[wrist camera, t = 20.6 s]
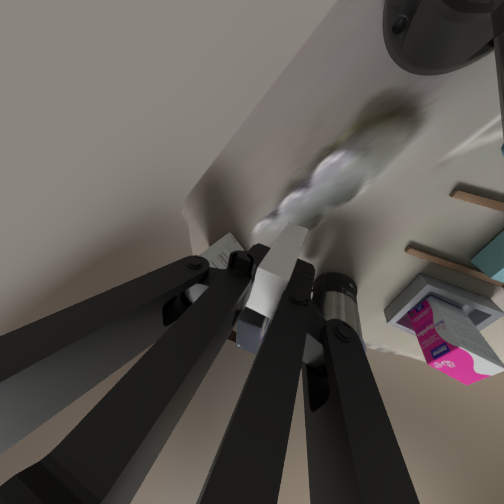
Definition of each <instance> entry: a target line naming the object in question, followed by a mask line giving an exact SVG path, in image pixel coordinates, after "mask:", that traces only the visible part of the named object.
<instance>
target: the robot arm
mask: <svg viewBox="0 0 504 504" xmlns="http://www.w3.org/2000/svg"><path fill="white" fill-rule="evenodd" d="M383 36H384V41H385V45H386V48H387V50H388V53H389V55H390V56H391V58H392V59H393V61H394V62H395V63H396V64H397V65H398V66H400V67H401V68H402V69H404V70H406V71H408V72H410V73H413V74H417V75H439V74H444V73H448V72H452V71H455V70H458V69H461V68H463V67H465V66H468V65H470V64H472V63H474V62H476V61H478V60H479V59H481V58H483V57H485V56H486V55H488V54H489V53H491V52H492V51H494V50H495V59H496V69H497V79H498V88H499V98H500V108H501V118H502V128H503V137H504V0H386V1H385V5H384V12H383ZM501 151H502V155H503V157H504V144H503V145H502V147H501ZM308 230H309V229H307V228H304V227H302V226H299V225H296V224H294V223H291V222H289V223H288V224H287V226H286V227H285V229H284V230H283V232H282V233H281V234H280V236H279V237H278V239H277V240H276V242H275V243H274V244H273V246H272V247H271V248H269V247H267V246H265V245H262V244H260V243H259V244H256V245H253V246H252V247H251V248H250V250H249V251H248V252H246V251H241V250H237V251H233V252H231V253H230V256H229V261H228V267H227V268H226V269H218V268H214V267H210V264H209V261H208V260H207V259H206V258H204V257H202V256H197V255H195V256H188V257H185V258H183V259H180V260H178V261H176V262H173V263H171V264H168V265H166V266H164V267H161V268H159V269H157V270H155V271H152V272H150V273H147V274H145V275H143V276H141V277H138V278H136V279H133V280H131V281H129V282H126V283H124V284H122V285H119V286H117V287H115V288H112V289H110V290H108V291H105V292H104V293H101V294H98V295H96V296H94V297H91V298H89V299H87V300H84V301H82V302H80V303H77V304H75V305H73V306H70V307H68V308H66V309H63V310H61V311H58V312H56V313H54V314H51V315H49V316H47V317H44V318H42V319H40V320H37V321H35V322H33V323H30V324H28V325H26V326H23V327H21V328H19V329H16V330H14V331H12V332H9V333H7V334H5V335H2V336H0V454H2V453H3V452H5V451H6V450H7V449H9V448H10V447H12V446H13V445H14V444H16V443H17V442H19V441H20V440H21V439H23V438H24V437H25V436H27V435H28V434H30V433H31V432H32V431H34V430H35V429H36V428H38V427H39V426H41V425H42V424H43V423H45V422H46V421H47V420H49V419H50V418H52V417H53V416H54V415H56V414H57V413H58V412H60V411H61V410H63V409H64V408H65V407H67V406H68V405H70V404H71V403H72V402H74V401H75V400H76V399H78V398H79V397H81V396H82V395H83V394H84V393H86V392H87V391H89V390H90V389H92V388H93V387H94V386H96V385H97V384H98V383H100V382H101V381H103V380H104V379H105V378H107V377H108V376H109V375H111V374H112V373H114V372H115V371H116V370H118V369H119V368H121V367H122V366H123V365H125V364H126V363H127V362H129V361H130V360H131V359H133V358H134V357H136V356H137V355H138V354H140V353H141V352H142V351H144V350H145V349H146V348H148V347H149V346H151V345H152V344H154V343H155V342H156V341H157V342H156V343H155V344H154V345H153V346H152V347H151V348H150V349H149V350H148V351H147V352H146V353H145V354H144V355H143V356H142V358H140V359H139V361H138V362H137V363H136V364H135V365H134V366H133V367H132V368H131V369H130V370H129V371H128V372H127V373H126V374H125V375H124V377H122V378H121V379H120V381H119V382H118V383H117V384H116V385H115V386H114V387H113V388H112V389H111V390H110V391H109V392H108V393H107V394H106V395H105V396H104V397H103V398H102V400H100V401H99V403H98V404H97V405H96V406H95V407H94V408H93V409H92V410H91V411H90V412H89V413H88V414H87V415H86V416H85V417H84V418H83V419H82V420H81V422H80V423H79V424H78V425H77V426H76V427H75V428H74V429H73V430H72V431H71V432H70V433H69V434H68V435H67V436H66V437H65V438H64V439H63V440H62V441H61V443H60V444H59V445H58V446H57V447H55V448H54V449H53V450H52V451H51V452H50V453H49V454H48V455H47V456H45V457H44V458H43V459H41V460H40V461H39V462H37V463H35V464H34V465H32V466H30V467H28V468H26V469H25V470H23V471H21V472H19V473H18V474H16V475H15V476H13V477H12V478H10V479H9V480H8V481H6V482H5V483H4V484H3V485H1V486H0V504H130V503H131V501H132V499H133V497H134V496H135V494H136V492H137V491H138V489H139V487H140V486H141V484H142V482H143V481H144V479H145V477H146V475H147V474H148V472H149V470H150V469H151V467H152V465H153V463H154V462H155V460H156V458H157V457H158V455H159V453H160V452H161V450H162V448H163V447H164V445H165V443H166V442H167V439H168V438H169V436H170V435H171V433H172V431H173V430H174V428H175V426H176V425H177V423H178V421H179V419H180V418H181V416H182V414H183V413H184V411H185V409H186V408H187V406H188V404H189V402H190V401H191V399H192V397H193V396H194V394H195V392H196V391H197V388H198V387H199V386H200V384H201V382H202V380H203V378H204V377H205V375H206V374H207V372H208V370H209V369H210V367H211V365H212V364H213V362H214V360H215V358H216V357H217V355H218V353H219V352H220V350H221V348H222V347H223V345H224V343H225V341H226V340H227V338H228V336H229V335H230V333H231V331H232V330H233V328H234V326H235V324H236V322H237V321H238V319H239V318H240V316H241V314H242V311H243V308H244V306H245V304H246V303H247V304H246V307H248V308H250V309H252V310H254V311H256V312H258V313H260V314H262V315H264V316H266V317H268V318H270V319H271V321H270V323H269V325H268V328H267V330H266V332H265V334H264V338H263V340H262V342H261V345H260V347H259V350H258V352H257V355H256V357H255V360H254V363H253V365H252V367H251V370H250V372H249V375H248V377H247V379H246V382H245V384H244V387H243V389H242V392H241V394H240V397H239V399H238V402H237V404H236V407H235V409H234V412H233V414H232V416H231V419H230V421H229V424H228V427H227V429H226V431H225V434H224V436H223V439H222V441H221V444H220V446H219V449H218V451H217V454H216V456H215V458H214V461H213V464H212V466H211V468H210V471H209V473H208V476H207V478H206V481H205V483H204V485H203V488H202V491H201V493H200V495H199V498H198V500H197V503H196V504H277V500H278V495H279V489H280V484H281V478H282V472H283V466H284V461H285V455H286V450H287V444H288V438H289V433H290V426H291V421H292V416H293V410H294V404H295V398H296V393H297V387H298V381H299V376H300V370H301V364H302V378H303V394H304V409H305V410H304V411H305V426H306V440H307V441H306V442H307V457H308V472H309V488H310V502H311V504H420V503H419V500H418V498H417V495H416V492H415V489H414V486H413V484H412V481H411V478H410V475H409V473H408V470H407V467H406V464H405V462H404V459H403V456H402V453H401V450H400V448H399V445H398V442H397V440H396V437H395V434H394V431H393V429H392V426H391V423H390V420H389V417H388V415H387V412H386V409H385V407H384V404H383V401H382V398H381V396H380V393H379V390H378V387H377V384H376V382H375V379H374V376H373V373H372V371H371V368H370V365H369V362H368V360H367V357H366V354H365V351H364V349H363V346H362V343H361V340H360V338H359V336H358V334H357V332H356V331H355V330H354V329H353V328H352V326H350V325H349V324H348V323H346V322H345V321H342V320H340V319H335V318H333V319H330V320H328V321H327V320H326V319H325V318H323V317H322V316H321V315H319V314H318V313H317V312H316V311H315V310H314V308H313V307H312V302H311V300H310V296H311V291H312V286H313V280H314V275H315V269H314V266H313V265H312V264H310V263H308V262H305V261H303V260H300V259H298V256H299V253H300V251H301V248H302V245H303V243H304V240H305V238H306V235H307V232H308Z"/></svg>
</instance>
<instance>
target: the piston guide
mask: <svg viewBox="0 0 504 504" xmlns="http://www.w3.org/2000/svg"><path fill="white" fill-rule="evenodd" d="M449 196H451V197H453V198H457V199H461V200H464V201H468V202H471V203H475V204H478V205H482V206H485V207H489V208H492V209H496V210H499V211H503V212H504V203H503V202H499V201H496V200H492V199H488V198H485V197H481V196H477V195H474V194H470V193H466V192H463V191H459V190H456V189H454V191H453V192H452V193H451V194H450V195H449ZM405 252H406V253H408V254H411V255H414V256H417V257H419V258H422V259H425V260H428V261H431V262H434V263H436V264H439V265H442V266H445V267H448V268H450V269H453V270H456V271H459V272H462V273H464V274H467V275H470V276H473V277H476V278H478V279H481V280H484V281H487V282H490V283H492V284H495V285H498V286H501V287H502V288H504V283H502V282H500V281H497V280H494V279H491V278H490V277H488V276H487V275H486V274H485V273H484V272H482V271H480V270H477V269H474V268H471V267H468V266H465V265H463V264H460V263H457V262H454V261H451V260H448V259H445V258H442V257H439V256H437V255H434V254H431V253H428V252H425V251H422V250H419V249H416V248H414V247H411V246H408V247H407V248H406V249H405Z"/></svg>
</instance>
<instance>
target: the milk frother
mask: <svg viewBox="0 0 504 504" xmlns="http://www.w3.org/2000/svg"><path fill="white" fill-rule="evenodd" d="M311 292H313V297H312V299H311V297H310V300H311V302H312V307H313V308H314V310H315V311H316V312H317V313H318V314H319V315H321V316H322V317H323V318H325V319H326V320H327V321H328V320H330V319H333V318H335V319H340V320H342V321H345V322H346V323H348V324H349V325H350V326H352V328H353V329H354V330H355V331H356V332H357V334H358V336H359V338H360V340H361V343H362V346H363V349H364V351H365V352H366V346H365V343H364V341H363V339H362V331H361V325H360V318H359V312H358V306H357V297H356V296H357V287H356V285H355V283H354V282H353V281H352V280H351V279H350V278H349V277H347V276H345V275H343V274H339V273H326V274H323V275H321V276H319V277H318V278H317V279H316V280H315V281H314V283H313V289H312V291H311Z"/></svg>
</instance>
